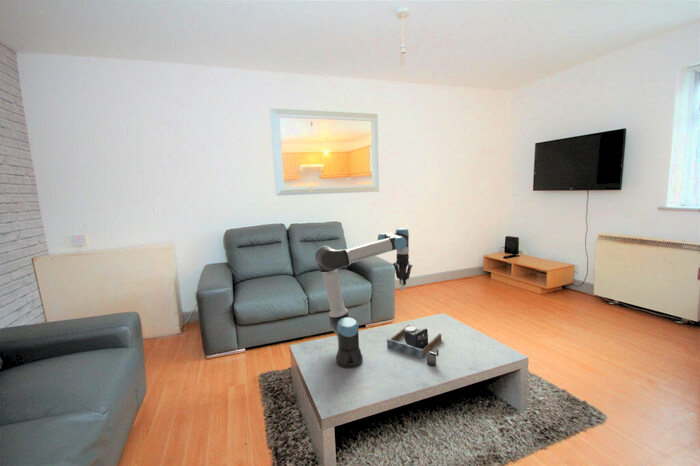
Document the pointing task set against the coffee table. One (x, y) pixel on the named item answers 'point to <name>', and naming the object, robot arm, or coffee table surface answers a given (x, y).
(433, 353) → the winch drum
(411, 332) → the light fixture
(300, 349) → the coffee table surface
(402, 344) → the bay
